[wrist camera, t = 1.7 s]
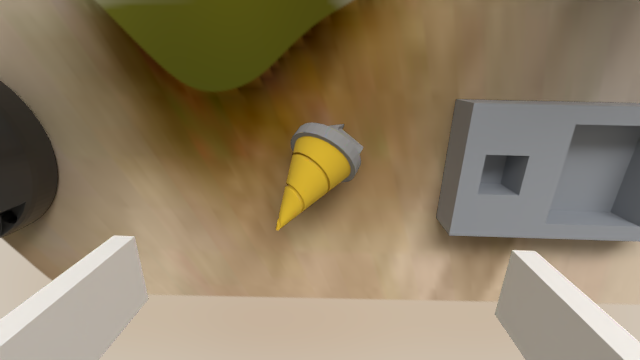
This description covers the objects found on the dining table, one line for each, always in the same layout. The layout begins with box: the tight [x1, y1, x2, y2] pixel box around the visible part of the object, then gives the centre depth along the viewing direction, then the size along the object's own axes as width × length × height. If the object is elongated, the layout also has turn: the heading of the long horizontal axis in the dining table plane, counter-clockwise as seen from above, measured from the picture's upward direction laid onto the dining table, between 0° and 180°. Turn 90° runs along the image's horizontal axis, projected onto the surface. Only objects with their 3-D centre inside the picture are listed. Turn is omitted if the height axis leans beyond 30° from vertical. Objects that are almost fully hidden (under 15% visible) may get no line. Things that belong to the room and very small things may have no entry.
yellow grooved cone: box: [276, 123, 363, 230], centre depth 21 cm, size 5×5×10 cm
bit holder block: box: [436, 99, 640, 241], centre depth 23 cm, size 17×10×3 cm, turn 89°
